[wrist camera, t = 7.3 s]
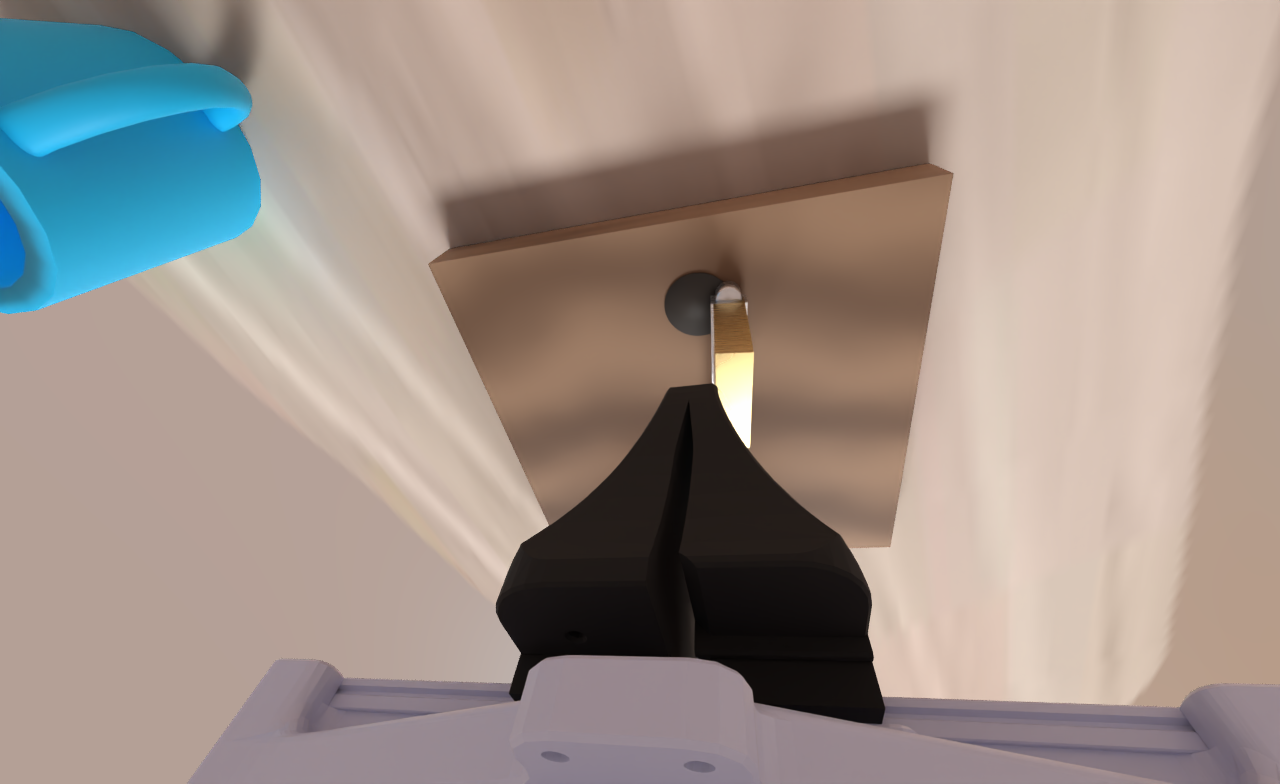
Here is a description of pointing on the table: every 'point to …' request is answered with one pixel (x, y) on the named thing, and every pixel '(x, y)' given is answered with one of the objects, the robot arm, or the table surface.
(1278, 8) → the table surface
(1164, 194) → the table surface
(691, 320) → the hole plate
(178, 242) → the mug
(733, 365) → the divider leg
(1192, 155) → the table surface
